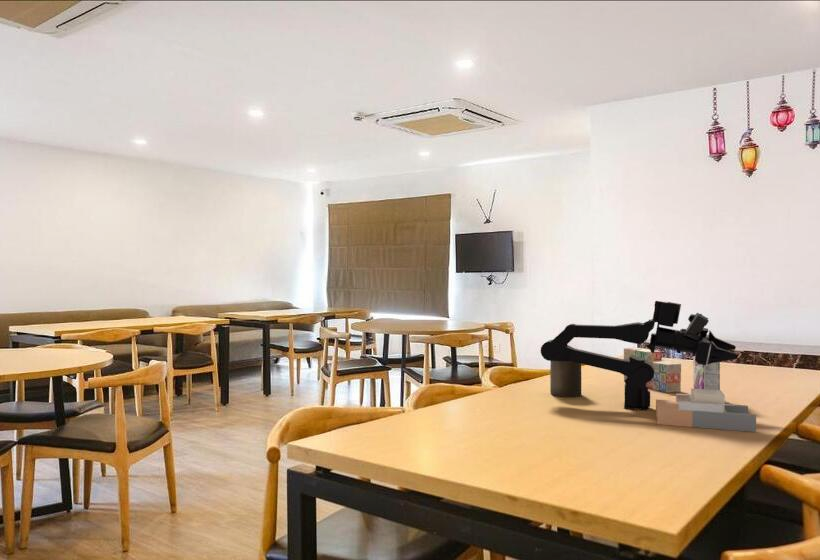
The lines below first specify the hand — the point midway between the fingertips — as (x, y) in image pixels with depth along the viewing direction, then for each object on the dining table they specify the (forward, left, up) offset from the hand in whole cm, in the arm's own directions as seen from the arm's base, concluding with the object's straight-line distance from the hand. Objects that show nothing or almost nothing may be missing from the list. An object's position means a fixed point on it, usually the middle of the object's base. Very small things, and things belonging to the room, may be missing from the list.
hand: (736, 352), depth 162 cm
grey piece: (-9, -12, -17) cm, 23 cm away
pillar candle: (-46, +14, -17) cm, 52 cm away
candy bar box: (-5, +19, -17) cm, 27 cm away
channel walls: (-10, -12, -13) cm, 20 cm away
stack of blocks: (-20, +38, -18) cm, 47 cm away
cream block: (-8, -12, -13) cm, 20 cm away
